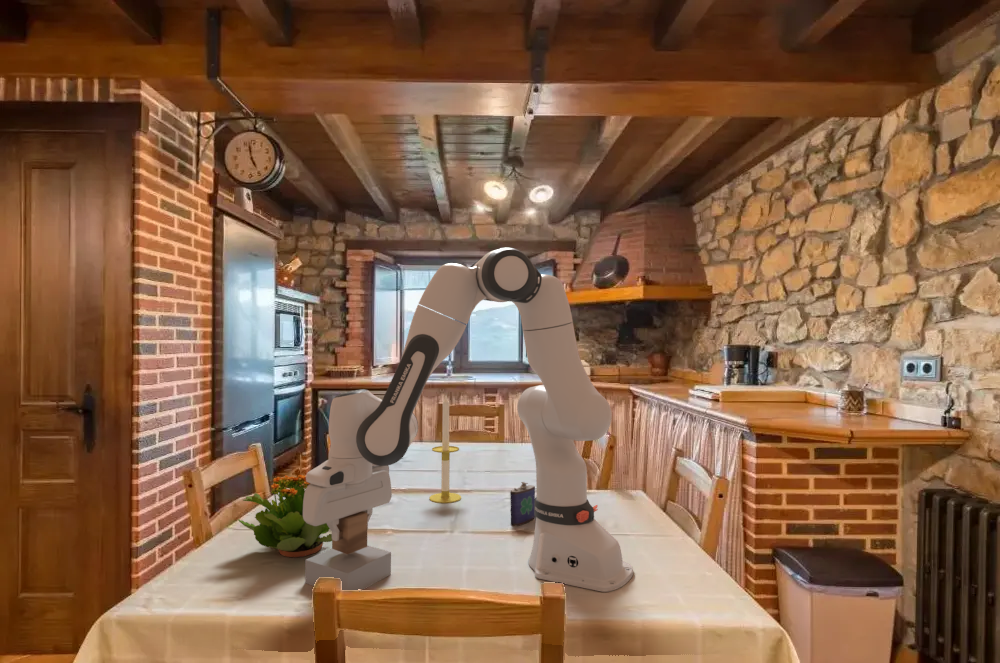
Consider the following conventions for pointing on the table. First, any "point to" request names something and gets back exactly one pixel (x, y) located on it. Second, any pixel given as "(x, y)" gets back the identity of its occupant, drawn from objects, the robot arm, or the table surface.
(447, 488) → the wheel axle
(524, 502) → the flask
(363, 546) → the walnut block
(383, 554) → the plate
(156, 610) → the table surface
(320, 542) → the potted flower
